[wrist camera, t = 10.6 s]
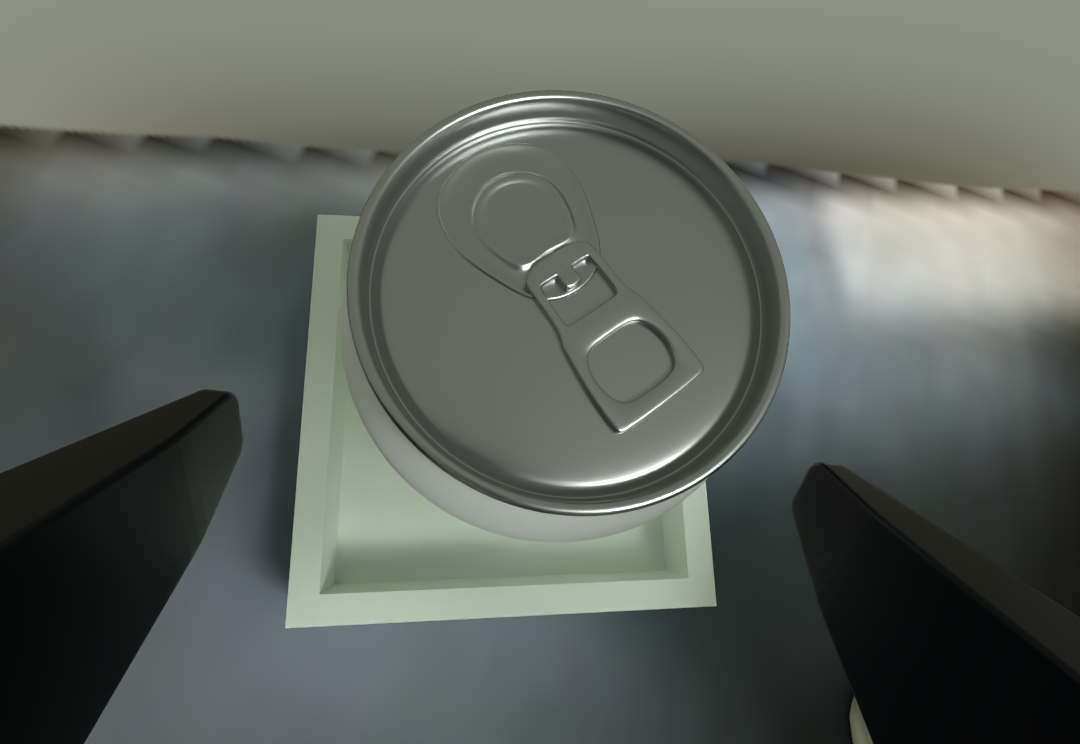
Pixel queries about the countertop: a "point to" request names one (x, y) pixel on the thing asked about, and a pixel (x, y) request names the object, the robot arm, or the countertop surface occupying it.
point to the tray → (446, 520)
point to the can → (561, 315)
